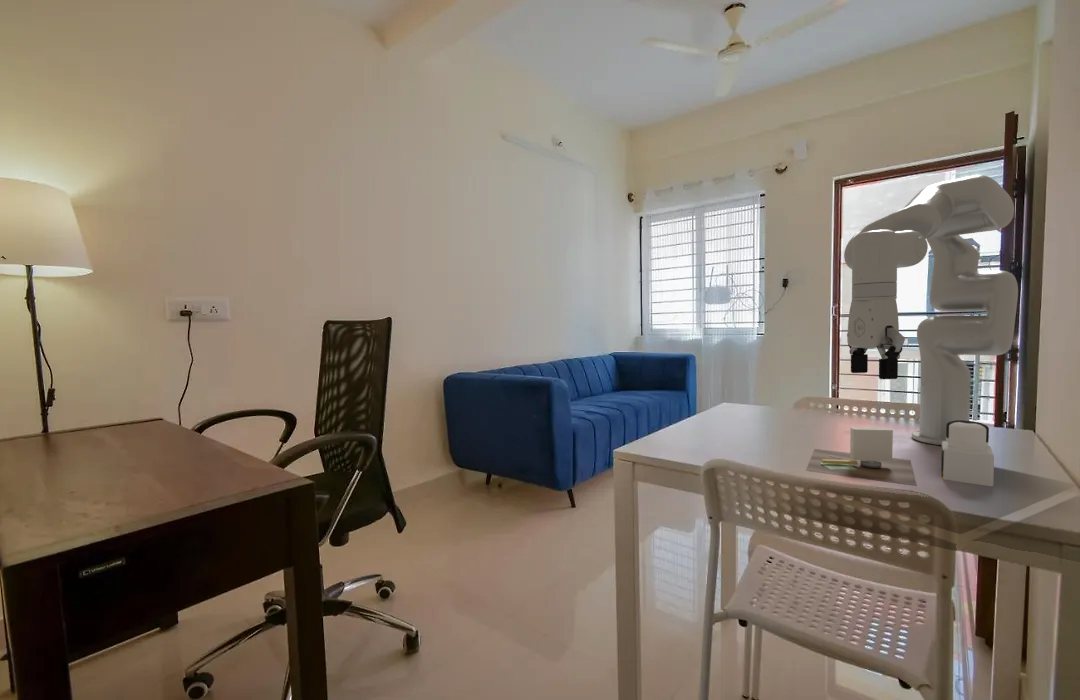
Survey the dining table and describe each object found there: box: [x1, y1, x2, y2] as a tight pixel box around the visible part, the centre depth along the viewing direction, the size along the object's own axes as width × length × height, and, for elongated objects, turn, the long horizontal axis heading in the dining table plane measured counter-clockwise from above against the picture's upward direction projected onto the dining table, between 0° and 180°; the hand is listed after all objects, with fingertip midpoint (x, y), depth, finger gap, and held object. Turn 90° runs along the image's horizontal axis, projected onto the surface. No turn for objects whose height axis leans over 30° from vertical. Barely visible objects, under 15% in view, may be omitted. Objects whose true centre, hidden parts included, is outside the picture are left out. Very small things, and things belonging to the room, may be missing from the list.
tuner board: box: [805, 448, 918, 487], centre depth 100 cm, size 18×18×1 cm
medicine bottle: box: [940, 420, 995, 487], centre depth 90 cm, size 7×7×12 cm
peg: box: [822, 426, 894, 468], centre depth 99 cm, size 4×12×8 cm, turn 75°
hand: (872, 375), depth 98 cm, fingers open, 9 cm apart
